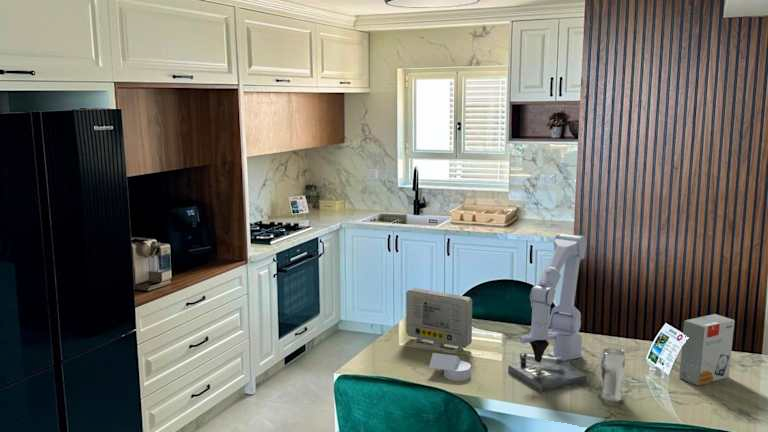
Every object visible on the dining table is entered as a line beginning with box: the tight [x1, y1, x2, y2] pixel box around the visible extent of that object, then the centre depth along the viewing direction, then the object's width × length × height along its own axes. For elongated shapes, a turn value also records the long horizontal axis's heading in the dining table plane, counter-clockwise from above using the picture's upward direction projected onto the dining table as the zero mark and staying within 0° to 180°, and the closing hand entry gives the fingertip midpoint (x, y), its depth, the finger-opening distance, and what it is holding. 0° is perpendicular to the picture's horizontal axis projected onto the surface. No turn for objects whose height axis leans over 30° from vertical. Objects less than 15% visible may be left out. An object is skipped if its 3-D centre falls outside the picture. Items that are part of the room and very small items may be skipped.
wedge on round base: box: [428, 352, 472, 382], centre depth 224 cm, size 9×7×13 cm
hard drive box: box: [678, 313, 736, 386], centre depth 218 cm, size 16×8×20 cm, turn 117°
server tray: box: [507, 355, 588, 394], centre depth 221 cm, size 18×18×4 cm
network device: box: [405, 287, 473, 354], centre depth 249 cm, size 26×9×20 cm, turn 58°
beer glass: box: [600, 347, 626, 403], centre depth 205 cm, size 7×7×15 cm
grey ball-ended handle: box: [519, 352, 563, 365], centre depth 223 cm, size 14×2×2 cm, turn 70°
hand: (538, 361), depth 222 cm, fingers closed, pressing on grey ball-ended handle
